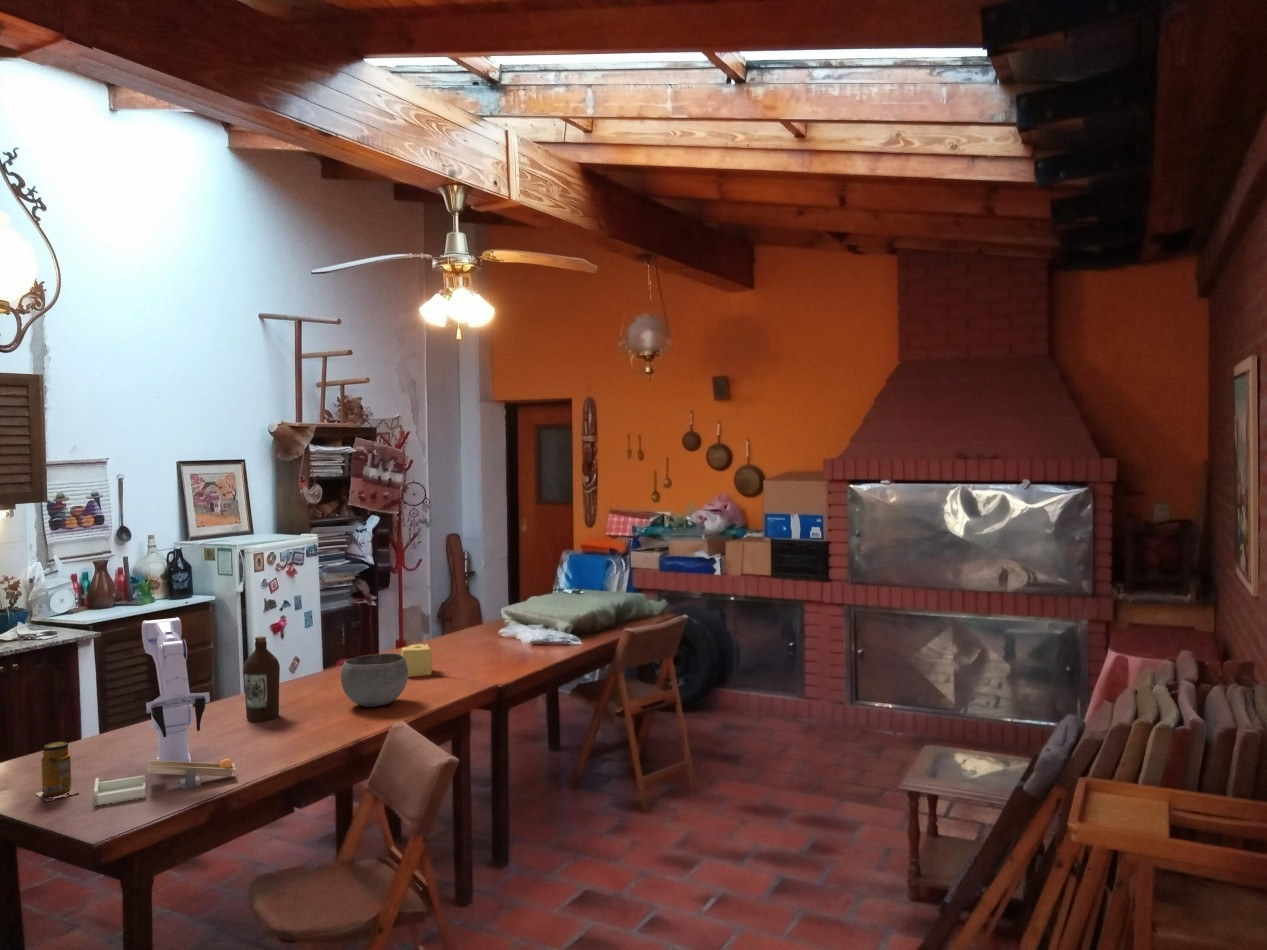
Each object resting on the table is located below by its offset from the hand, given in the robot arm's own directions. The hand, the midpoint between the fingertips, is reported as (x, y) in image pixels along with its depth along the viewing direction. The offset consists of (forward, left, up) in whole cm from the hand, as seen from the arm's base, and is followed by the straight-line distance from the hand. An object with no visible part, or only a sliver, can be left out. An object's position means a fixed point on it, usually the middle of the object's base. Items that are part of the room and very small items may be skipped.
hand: (181, 732), depth 240 cm
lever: (-1, +2, -10) cm, 10 cm away
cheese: (-86, +82, -13) cm, 119 cm away
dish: (+2, -14, -13) cm, 19 cm away
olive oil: (-53, +25, -13) cm, 60 cm away
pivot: (+2, +2, -13) cm, 13 cm away
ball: (+2, +10, -9) cm, 14 cm away
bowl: (-50, +59, -13) cm, 78 cm away
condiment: (-7, -27, -13) cm, 31 cm away
